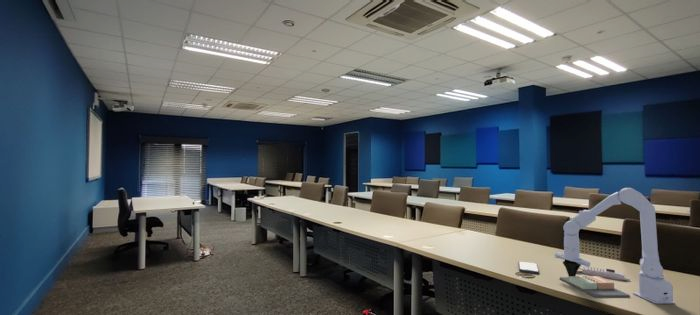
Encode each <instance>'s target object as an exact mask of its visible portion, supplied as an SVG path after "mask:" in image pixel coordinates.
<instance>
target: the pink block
mask: <svg viewBox="0 0 700 315" xmlns="http://www.w3.org/2000/svg"><path fill="white" fill-rule="evenodd" d="M583 277H585V278H587V279H589V280H592V281H594V282H596V283H597V289H614V288H615V282H613V281H611V280H608V279H607V278H605V277H600V276H594V275H587V276H586V275H584V276H583Z"/></svg>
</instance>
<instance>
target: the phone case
mask: <svg viewBox="0 0 700 315" xmlns="http://www.w3.org/2000/svg"><path fill="white" fill-rule="evenodd" d="M518 271H519V272H521V273H524V274H525V273H527V274H533V275H539V274H540V269H539V266H538V264H537V263H536V262H526V261H518Z"/></svg>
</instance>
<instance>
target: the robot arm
mask: <svg viewBox="0 0 700 315" xmlns="http://www.w3.org/2000/svg"><path fill="white" fill-rule="evenodd" d="M622 203H623V204H626V205H628V206H631V207H633V208H634V209H636V210H637V211H638V212H639V219H640V220H639V221H640V223H639V224H640V235H641V258H640V259H639V266H640V268H641V270H640V271H638V291H639V292H636V291H635V292H632V294H633V295H635V296H637V297H640V298H643V299H644V300H647V301H648V302H652V303H653V304H676V302H675V301H674V286H673V284H672V283H671V282H670V281H669V280H667V279H665V277H664V268H663V266H662V265H661V262H660V257H659V251H658V248H659V247H658V235H657V234H658V233H657V221H656V208H655V206H654V205H653V204H652V203H651V202H650V201H649V200H648V199H647V197H645V195H643V194H642V192H640V191H638V190H636V189H634V188H633V187H623V188H621V189H620V190H619V191H615V192H613V193H612V194H610V195H608V196H607V197H606V198H604V199H603V200H602V201H600V202H598V203H597V204H596V205H595V206H593V207H592V208H590V209H583V210H579V211H578V213H577V214H576V215H575V216H573V217H569V220H568V221H566V222H564V225H563V227H562V228H563V231H564V232H563V235H564V236H563V253H559V252H556V253H554V258H556V259H561V260H564V261H562V264H563V266H564V267H565V269H566V272H567V277H569V276H577V273H578V270H580V269H579V267H580V266H586V267H591V262H590V261H588V260H585V259H583V258H581V256H580V238H579V232H580V230H581V229H582V230H583V229H585V228H586V227H588V226H590V225H591V224H592V223H594V222H595V221H596V220H597V218H596V216H598V215H599V214H601V213H602V212H604V211H606V210H608V209H609V208H611V207H612V206H617V205H622Z"/></svg>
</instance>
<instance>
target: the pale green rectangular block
mask: <svg viewBox="0 0 700 315" xmlns="http://www.w3.org/2000/svg"><path fill="white" fill-rule="evenodd" d="M568 277H569V282H570V283H572V284H574V285H576V286H578V287H580V288H582V289H597V283H596V282H594V281H592V280H589V279H587V278H585V277H583V276H582V275H580V276H579V275H576V276H568Z"/></svg>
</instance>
